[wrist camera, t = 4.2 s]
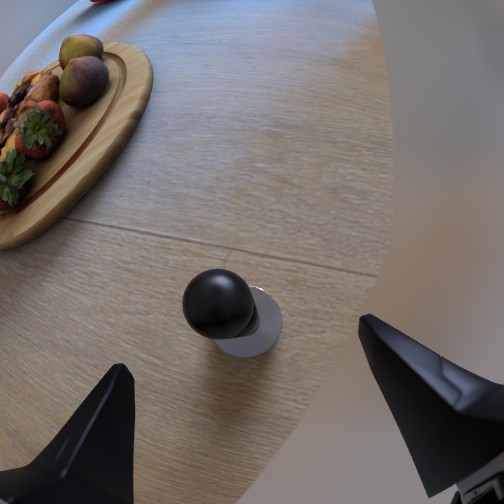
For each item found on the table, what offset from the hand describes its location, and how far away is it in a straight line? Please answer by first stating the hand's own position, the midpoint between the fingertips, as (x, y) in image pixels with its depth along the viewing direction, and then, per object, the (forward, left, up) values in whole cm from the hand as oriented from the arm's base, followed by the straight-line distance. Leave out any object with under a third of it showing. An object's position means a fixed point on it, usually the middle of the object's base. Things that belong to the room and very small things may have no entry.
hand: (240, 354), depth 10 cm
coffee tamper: (+1, -1, -9) cm, 9 cm away
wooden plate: (+34, -5, -9) cm, 36 cm away
